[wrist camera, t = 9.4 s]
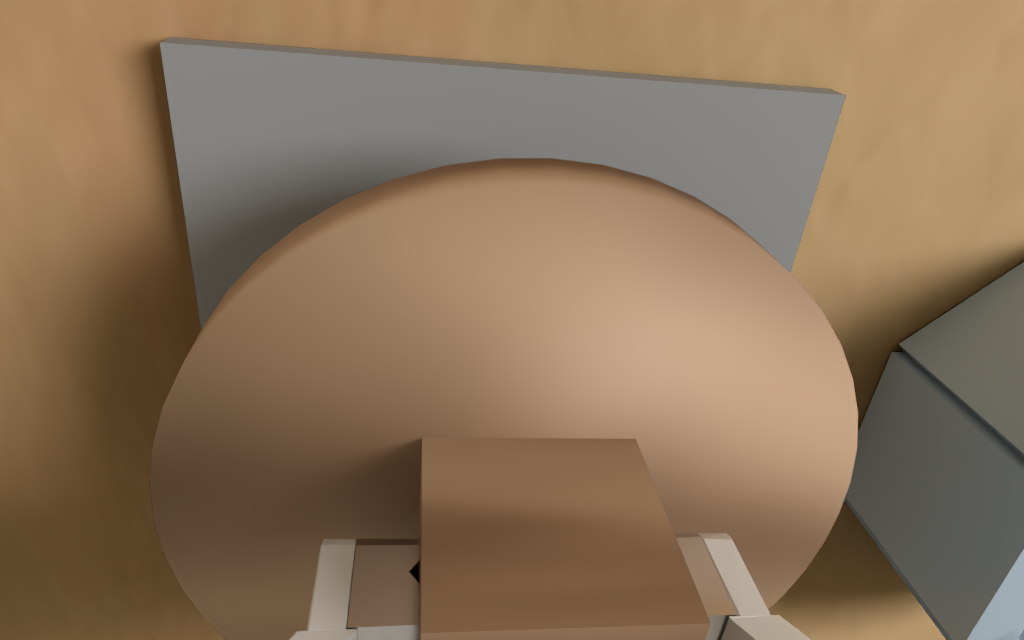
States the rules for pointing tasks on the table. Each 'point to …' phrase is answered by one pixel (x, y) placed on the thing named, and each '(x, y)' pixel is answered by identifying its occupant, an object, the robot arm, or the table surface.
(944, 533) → the bowl
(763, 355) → the lid
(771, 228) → the mat
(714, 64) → the table surface
